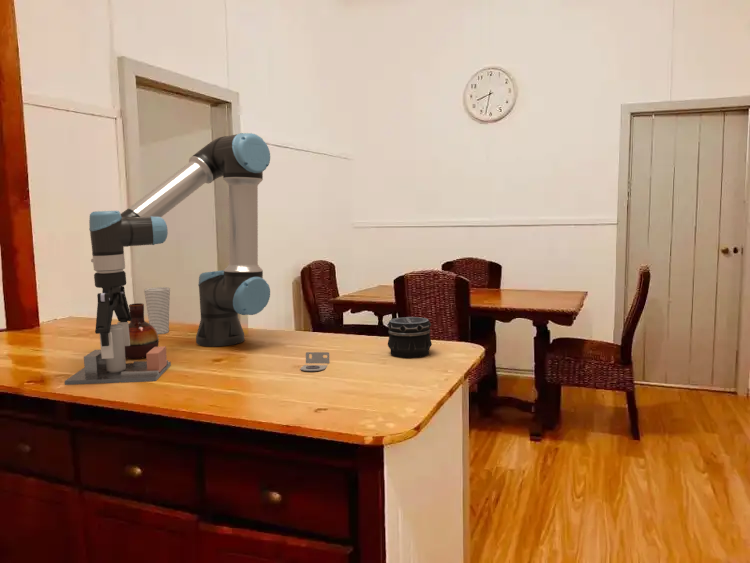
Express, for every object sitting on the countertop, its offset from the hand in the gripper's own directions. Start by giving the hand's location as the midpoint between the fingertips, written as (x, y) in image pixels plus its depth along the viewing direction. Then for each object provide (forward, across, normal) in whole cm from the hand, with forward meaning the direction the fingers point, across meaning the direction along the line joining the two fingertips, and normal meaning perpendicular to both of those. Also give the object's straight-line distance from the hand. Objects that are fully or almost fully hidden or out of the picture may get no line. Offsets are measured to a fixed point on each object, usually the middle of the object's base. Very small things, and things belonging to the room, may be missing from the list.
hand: (116, 351), depth 165 cm
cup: (+7, -56, -3) cm, 56 cm away
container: (+7, -11, +79) cm, 80 cm away
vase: (+6, -21, 0) cm, 22 cm away
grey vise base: (+6, 0, 0) cm, 6 cm away
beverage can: (+5, 0, 0) cm, 5 cm away
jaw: (+5, 0, +10) cm, 11 cm away
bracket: (+7, 0, +52) cm, 52 cm away
